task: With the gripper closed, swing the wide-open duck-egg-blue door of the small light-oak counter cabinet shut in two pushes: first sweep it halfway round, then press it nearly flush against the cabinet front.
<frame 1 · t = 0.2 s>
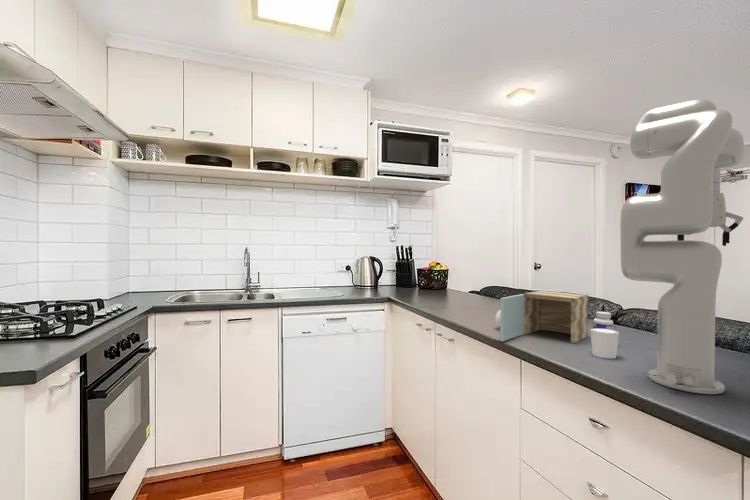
hand: (702, 245, 109), 31 cm above the table, fingers open, 9 cm apart
cabinet: (554, 335, 121), on the table
egg: (503, 330, 130), on the table
pill bottle: (602, 343, 112), on the table
door: (510, 316, 117), point 7 cm above the table, hinge at 90.0°
white cup: (604, 356, 99), on the table
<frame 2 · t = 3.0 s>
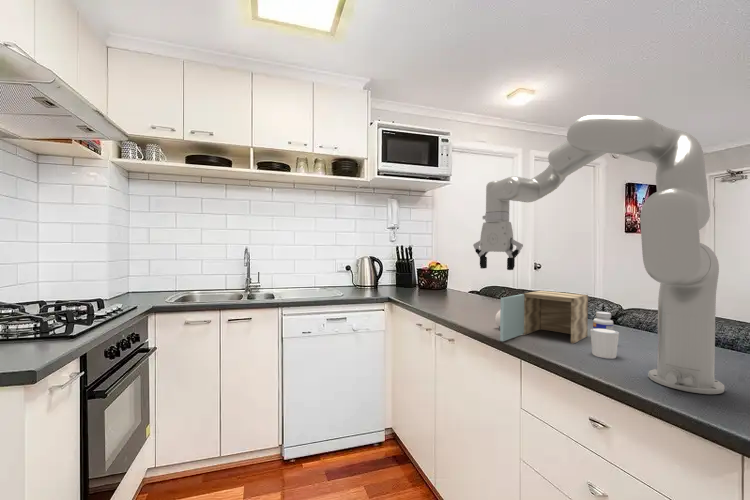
hand: (496, 269, 119), 23 cm above the table, fingers open, 9 cm apart
nothing on the table moved.
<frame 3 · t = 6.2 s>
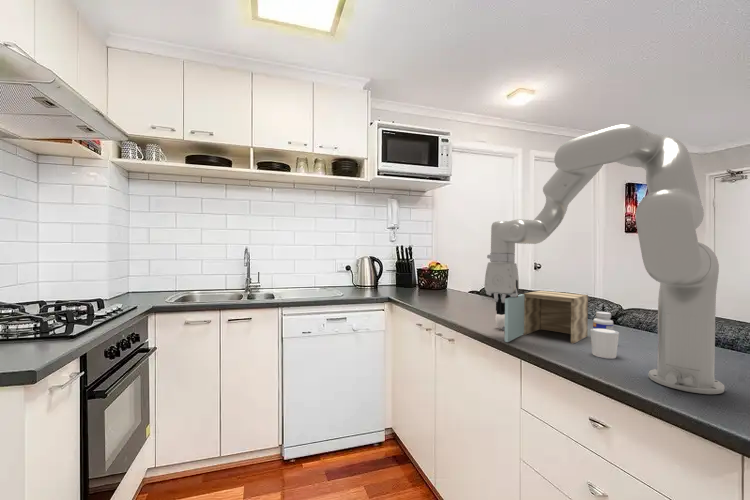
hand: (501, 313, 117), 8 cm above the table, fingers closed
door: (512, 316, 116), point 7 cm above the table, hinge at 84.4°, touching gripper
everything else where it was.
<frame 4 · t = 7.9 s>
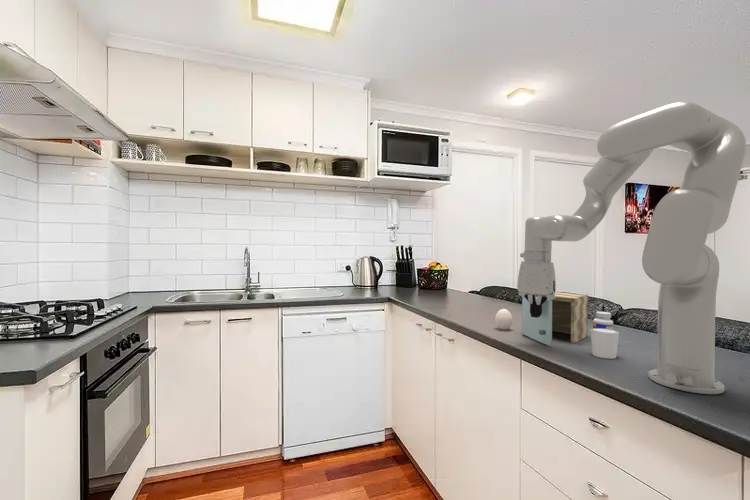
hand: (535, 316, 109), 9 cm above the table, fingers closed
door: (534, 318, 114), point 7 cm above the table, hinge at 36.3°
everything else where it was.
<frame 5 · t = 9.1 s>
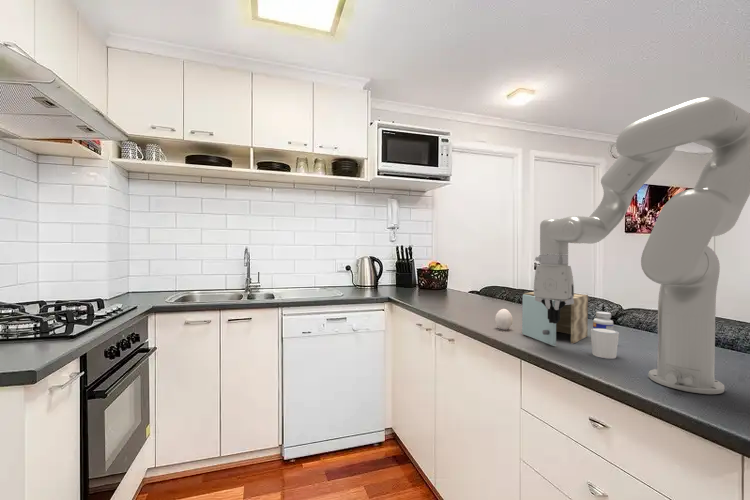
hand: (553, 322, 105), 8 cm above the table, fingers closed
door: (536, 318, 114), point 7 cm above the table, hinge at 30.9°
everything else where it was.
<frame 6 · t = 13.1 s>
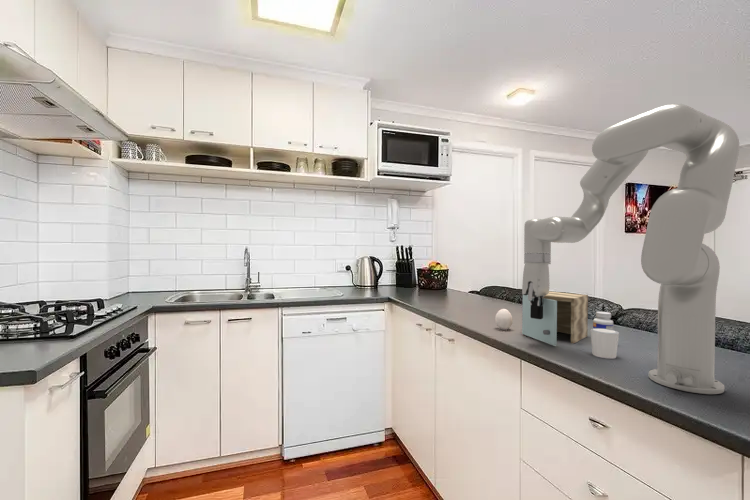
hand: (536, 318, 109), 8 cm above the table, fingers closed
door: (536, 318, 114), point 7 cm above the table, hinge at 30.1°, touching gripper
everything else where it was.
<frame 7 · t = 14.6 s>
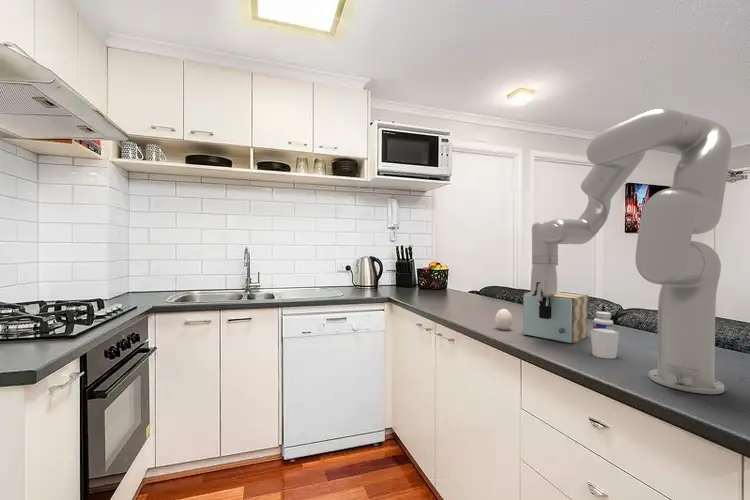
hand: (545, 318, 112), 8 cm above the table, fingers closed
door: (545, 317, 115), point 7 cm above the table, hinge at 1.5°, touching gripper
everything else where it was.
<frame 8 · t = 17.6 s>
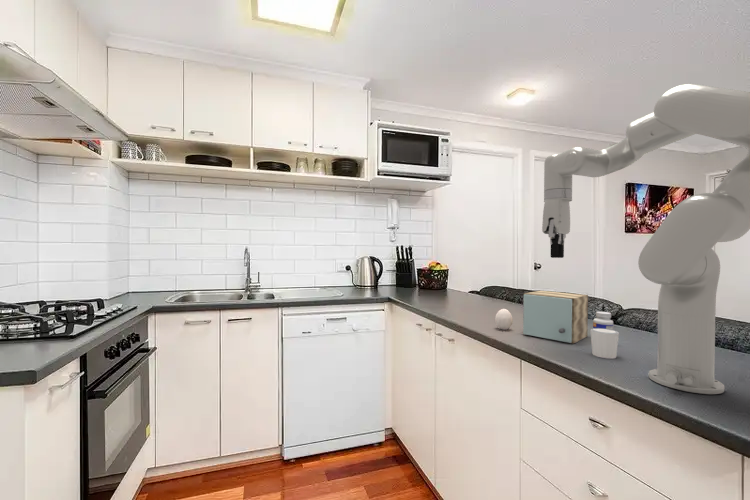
hand: (557, 257, 106), 27 cm above the table, fingers closed
door: (545, 317, 115), point 7 cm above the table, hinge at 1.4°
everything else where it was.
at the end: door at +1° (first picture: +90°) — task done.
